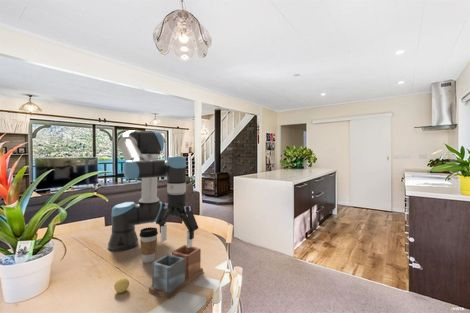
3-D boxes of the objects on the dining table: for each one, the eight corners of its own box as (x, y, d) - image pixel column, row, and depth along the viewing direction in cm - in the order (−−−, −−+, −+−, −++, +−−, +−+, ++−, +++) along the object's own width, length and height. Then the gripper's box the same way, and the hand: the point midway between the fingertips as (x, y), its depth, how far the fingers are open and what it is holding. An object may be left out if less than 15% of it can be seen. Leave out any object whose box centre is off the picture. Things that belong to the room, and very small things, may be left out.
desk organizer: (148, 291, 85) (148, 263, 84) (184, 266, 103) (184, 243, 103) (169, 299, 80) (169, 269, 80) (203, 271, 99) (203, 248, 99)
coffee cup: (146, 265, 104) (146, 233, 104) (135, 260, 109) (135, 229, 109) (161, 258, 111) (161, 228, 111) (150, 254, 116) (150, 225, 116)
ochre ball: (111, 293, 83) (111, 279, 83) (123, 286, 88) (123, 273, 88) (120, 297, 81) (120, 283, 81) (132, 289, 86) (132, 276, 86)
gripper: (147, 191, 96) (147, 241, 96) (196, 197, 86) (196, 253, 86) (160, 189, 103) (159, 235, 103) (207, 194, 92) (206, 245, 93)
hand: (176, 243), depth 94 cm, fingers open, 13 cm apart
